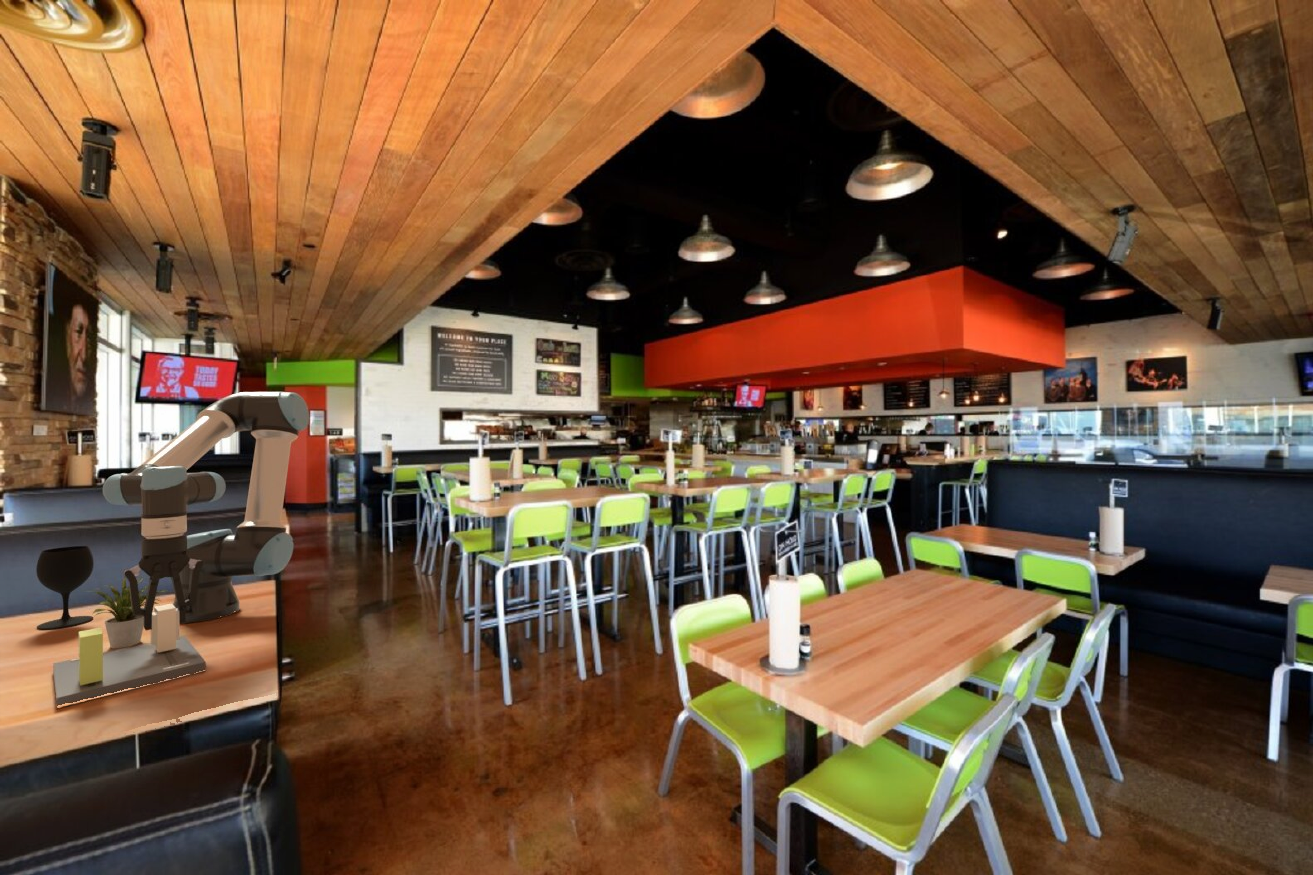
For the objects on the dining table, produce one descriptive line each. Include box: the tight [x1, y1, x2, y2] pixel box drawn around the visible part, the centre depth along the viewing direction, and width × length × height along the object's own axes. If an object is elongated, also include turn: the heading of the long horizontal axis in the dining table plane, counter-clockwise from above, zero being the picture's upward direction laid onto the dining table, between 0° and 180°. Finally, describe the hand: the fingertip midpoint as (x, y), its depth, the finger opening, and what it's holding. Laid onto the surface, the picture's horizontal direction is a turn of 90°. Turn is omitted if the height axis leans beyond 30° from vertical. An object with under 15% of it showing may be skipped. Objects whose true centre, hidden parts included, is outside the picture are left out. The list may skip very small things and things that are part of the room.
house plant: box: [84, 575, 169, 649], centre depth 129 cm, size 14×14×16 cm
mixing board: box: [52, 635, 207, 707], centre depth 114 cm, size 21×24×2 cm
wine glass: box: [35, 545, 95, 631], centre depth 146 cm, size 10×10×20 cm
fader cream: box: [153, 603, 176, 652], centre depth 121 cm, size 3×5×9 cm, turn 49°
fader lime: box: [78, 627, 104, 685], centre depth 105 cm, size 3×5×9 cm, turn 49°
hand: (165, 640), depth 121 cm, fingers closed on fader cream, 3 cm apart
